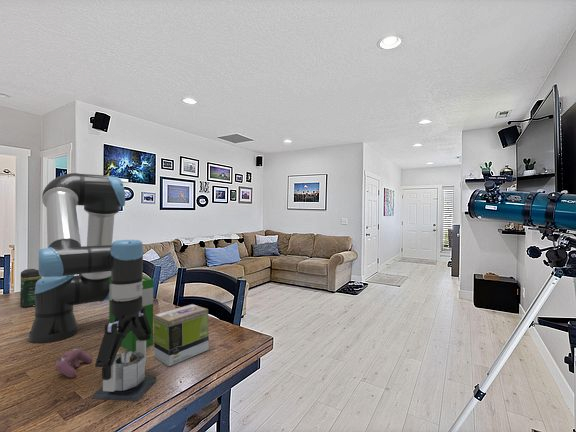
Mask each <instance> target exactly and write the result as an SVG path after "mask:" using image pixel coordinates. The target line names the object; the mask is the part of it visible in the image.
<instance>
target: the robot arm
mask: <svg viewBox="0 0 576 432" xmlns="http://www.w3.org/2000/svg"><path fill="white" fill-rule="evenodd" d="M41 197H42V204H43V205H44V207H45V208H46V232H47V233H46V235H47V236H46V237H47V239H46V240H47V241H46V243H47V247H46V248H45V247H44V248H41V249H40V250H39V251H38V270H39V275H40V276H42V278H41V279H39V280H38V281H37V282H36V288H35V306H34V319H33V323H32V325H31V328H30V331H29V332H28V341H29V342H30V343H35V344H42V343H49V342H50V343H51V342H57V341H60V340H63V339H64V340H65V339H67V338H70V337H72V336H74V335H76V334H77V333H78V332H79V324H78V322H77V320H76V316H75V313H74V306H78V305H83V304H90V303H97V302H104V301H109V291H110V276H111V298H112V300H111V314H113V315H114V316H115V320H114V323H109V322H107V323H105V325H104V333H103V336H102V337H103V338H102V339H101V344H100V345H99V350H98V353H97V355H96V356H97V358H96V359H95V363H94V368H102V369H101V371H102V372H101V375H102V376H101V379H102V386H103V391H110V392H113V391H115V364H113V362H114V360H115V357H116V356H117V355H118V353H119V349H120V347H121V346H120V345H121V343H122V340H123V338H125V337H126V335H127V333H129V332H130V331H132V332H133V333H134V334H135V335H136V337H137V338H138V339H139V340H137V341H136V351H135V352H142V353H143V355H144V356H145V364H146V363H147V347H146V340H149V339H150V336H148V335H150V334H151V329H150V326H149V323H148V320H147V317H146V312H145V308H142V296H141V295H142V288H143V286H142V278H143V277H144V276H143V273H144V272H143V271H144V270H143V269H144V265H143V264H144V247H143V241H142V240H139V239H120V240H119V239H118V240H115V241H113V237H114V236H113V235H114V227H115V226H114V225H115V224H114V223H115V215H117V214H118V213H119V212H120V208H123V207H125V206H126V193H125V187H124V183H123V180H122V179H121V178H119V177H117V176H113V175H111V176H110V175H108V174H107V175H105V174H104V175H102V174H91V173H90V174H89V173H88V174H87V173H78V172H77V173H76V172H73V173H66V174H62V175H60V176H57V177H55V178H54V179H52V180H51V181H49V183H47V185H46V186H45V187H44V189H43V191H42V195H41ZM77 206H83V210H84V212H86V213H87V214H88V218H87V234H86V235H87V236H86V246H82V242H81V235H80V228H79V220H78V213H77ZM117 331H118V333H117Z"/></svg>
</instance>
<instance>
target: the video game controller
mask: <svg viewBox="0 0 576 432" xmlns="http://www.w3.org/2000/svg"><path fill="white" fill-rule="evenodd" d="M93 360H94V359H93V357H92V356H91V354H89V353H87V352H86V351H84V350H83V349H81V348H79V347H76V348H73V349H71V350H69V351H66V352H65V353H63V354H62V355H61V357H60V358H59V359H58V360H57V361H56V363H55V368H56V371H58V372H59V373H61V374H63V375H64V376H65V377H68V378H71V379H73V378H75V377H77V375H78V373H77V371H76V368H78V367H79V366H80V364H81V363H80V361H81V362H82V363H85V364H91V363H92V362H93Z"/></svg>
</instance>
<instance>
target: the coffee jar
mask: <svg viewBox="0 0 576 432" xmlns="http://www.w3.org/2000/svg"><path fill="white" fill-rule="evenodd" d="M41 278H43V277H42V276H40V275H39V269H35V268H28V269H27V268H26V269H24V270H22V271H21V272H20V297H19V300H20V302H19V303H20V307H22V306H24V307H23V308H28V307H27V306H33V305H35V288H36V282H37V281H38V280H39V279H41Z"/></svg>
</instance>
